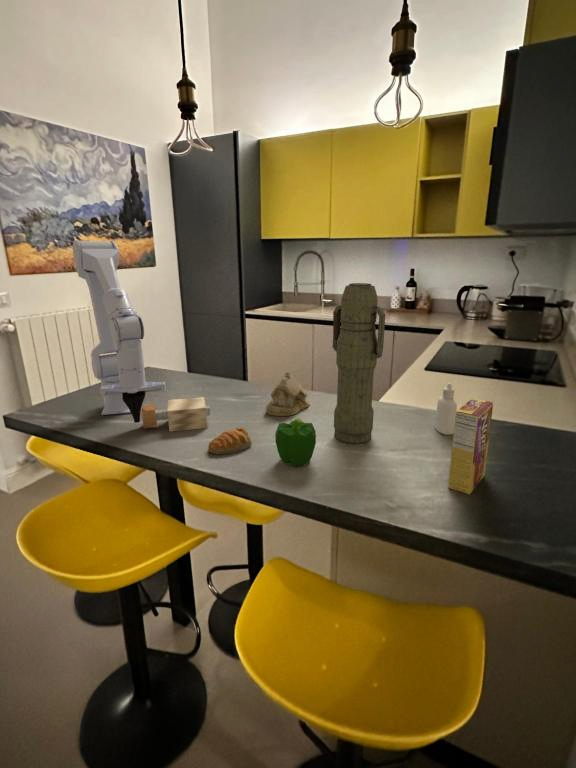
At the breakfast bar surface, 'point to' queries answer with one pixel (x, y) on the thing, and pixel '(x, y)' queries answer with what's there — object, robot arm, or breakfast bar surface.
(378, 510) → the breakfast bar surface
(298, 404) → the ceramic model
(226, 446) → the pastry
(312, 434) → the bell pepper
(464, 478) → the candy box
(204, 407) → the block
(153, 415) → the shaft
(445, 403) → the eye dropper bottle
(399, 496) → the breakfast bar surface
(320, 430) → the breakfast bar surface
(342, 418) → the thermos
